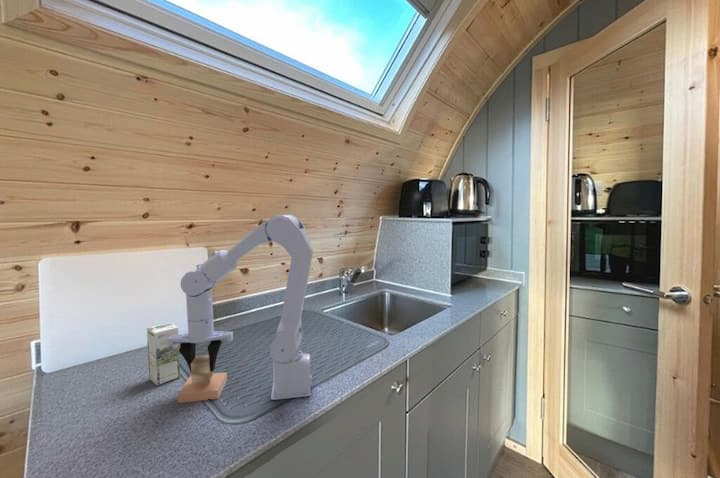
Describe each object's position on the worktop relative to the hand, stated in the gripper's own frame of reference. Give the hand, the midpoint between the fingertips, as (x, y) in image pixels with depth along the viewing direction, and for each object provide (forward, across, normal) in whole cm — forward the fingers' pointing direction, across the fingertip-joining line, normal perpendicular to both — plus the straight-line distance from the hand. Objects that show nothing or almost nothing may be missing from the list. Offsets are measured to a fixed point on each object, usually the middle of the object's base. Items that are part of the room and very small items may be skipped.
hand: (203, 370), depth 81 cm
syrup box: (+5, +12, -8) cm, 15 cm away
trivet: (+6, 0, 0) cm, 6 cm away
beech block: (+2, 0, 0) cm, 2 cm away
